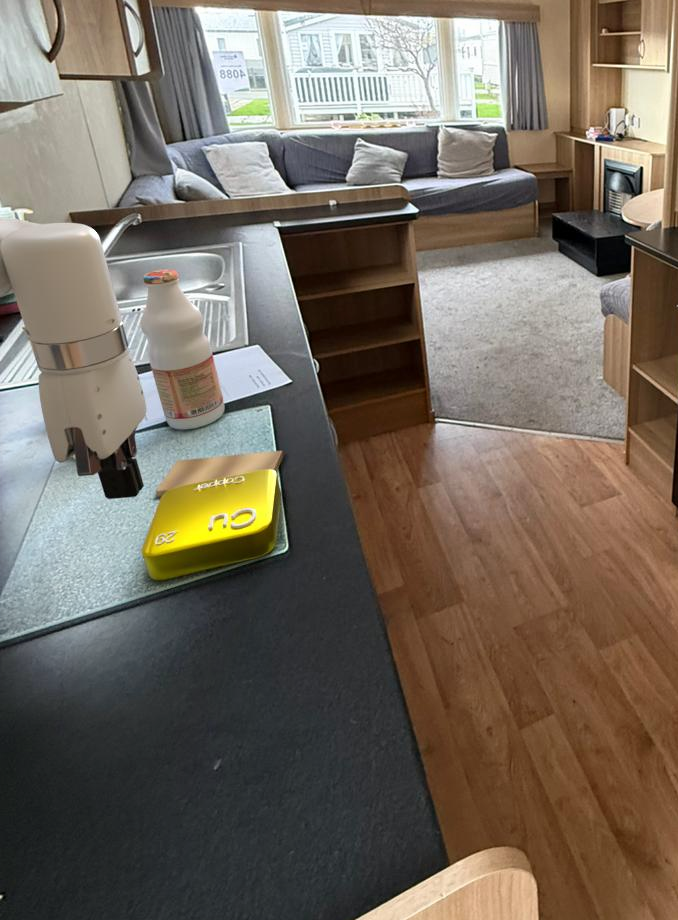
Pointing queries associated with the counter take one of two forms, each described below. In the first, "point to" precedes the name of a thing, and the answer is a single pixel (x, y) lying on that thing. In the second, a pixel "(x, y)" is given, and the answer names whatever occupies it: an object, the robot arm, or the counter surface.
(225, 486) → the element tile
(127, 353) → the robot arm
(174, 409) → the fruit juice
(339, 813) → the counter surface
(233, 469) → the wooden board
